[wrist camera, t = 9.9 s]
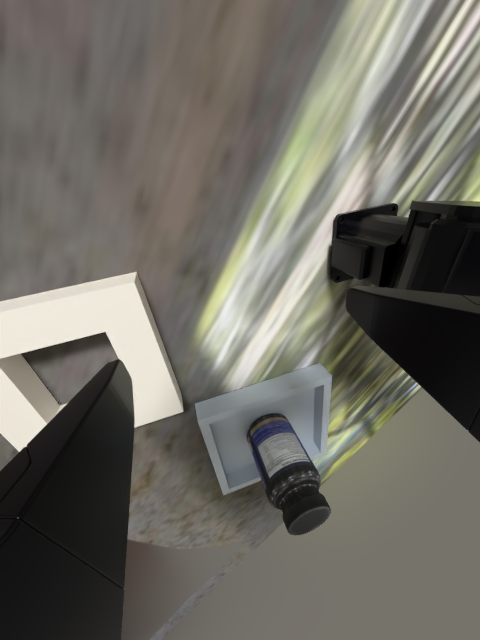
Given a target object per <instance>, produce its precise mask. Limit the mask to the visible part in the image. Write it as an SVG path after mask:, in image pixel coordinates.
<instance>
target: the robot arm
mask: <svg viewBox="0 0 480 640" xmlns="http://www.w3.org/2000/svg"><path fill="white" fill-rule="evenodd" d="M391 209H392V210H391ZM410 209H411V211H410V214H409V218H407V217H399V216H397V211H398V205H397V204H394V203H390V204H385V205H380V206H376V207H371V208H366V209H361V210H356V211H351V212H347V213H342V214H338V215H337V216H336V217H335V220H334V236H333V245H332V264H331V265H332V272H331V280H332V281H334V282H336V283H337V282H341V281H345V280H349V279H353V278H357V279H359V280H364V281H366V282H368V283H370V284H372V285H375V286H377V287H372V286H362V285H356V286H353V287H349V288H348V289H347V291H346V310H347V312H348V313H349V314H350V315H351V316H352V318H353V319H354V320H355V321H356V322H357V323H358V325H359V326H360V327H361V328H362V329H363V330H364V332H365V333H366V334H367V335H368V336H369V337H370V338H371V339H372V340H373V341H374V342H375V343H376V344H377V345H378V346H379V347H380V348H381V349H382V350H383V351H384V352H385V353H386V354H388V355H389V356H390V357H391V358H392V359H393V360H394V361H395V362H396V363H397V364H398V365H399V366H400V367H401V368H402V369H403V370H404V371H405V372H406V373H408V374H409V375H410V376H411V377H412V378H413V379H414V380H415V381H416V382H417V383H418V384H419V385H420V386H421V387H422V388H423V389H424V390H425V391H427V392H428V393H429V394H430V395H431V396H432V397H433V398H434V399H435V400H436V401H437V402H438V403H439V404H440V405H441V406H442V407H443V408H444V409H445V410H446V411H448V412H449V413H450V414H451V415H452V416H453V417H454V418H455V419H456V420H457V421H458V422H459V423H460V424H461V425H462V426H463V427H464V428H465V429H466V430H469V433H471V435H473V436H474V437H475V438H476V439H477V440H478V441H479V442H480V202H473V201H412V203H411V206H410ZM340 218H342V220H341V222H340ZM337 276H338V277H337ZM336 277H337V278H336ZM134 423H135V418H134V401H133V386H132V379H131V376H130V374H129V372H128V371H127V369H126V367H125V365H124V363H123V362H122V361H121V360H120V359H118V360H114V361H111V362H108V363H107V364H106V365H105V366H104V367H103V368H102V369H101V370H100V371H99V372H98V373H97V374H96V375H95V376H94V377H93V378H92V379H91V380H90V381H89V382H88V383H87V384H86V385H85V386H84V387H83V388H82V389H81V390H80V391H79V392H78V393H77V394H76V395H75V396H74V397H73V398H72V399H71V400H70V401H69V402H68V403H67V404H66V405H65V406H64V407H63V408H62V409H61V410H60V411H59V412H58V413H57V414H56V415H55V417H54V418H53V419H52V420H51V421H50V422H49V423H48V424H47V425H46V426H45V427H44V428H43V429H42V430H41V431H40V432H39V433H38V434H37V435H36V436H35V437H34V438H33V439H32V440H31V441H30V442H29V443H28V444H27V447H24V448H23V449H22V450H21V451H20V452H19V453H18V454H17V455H16V456H15V457H14V458H13V459H12V460H11V461H10V462H9V463H8V464H7V465H6V466H5V467H4V468H3V469H2V470H1V471H0V640H121V632H122V617H123V601H124V589H123V588H124V583H125V567H126V550H127V535H128V520H129V504H130V488H131V472H132V456H133V440H134Z"/></svg>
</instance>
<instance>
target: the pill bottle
mask: <svg viewBox="0 0 480 640" xmlns="http://www.w3.org/2000/svg"><path fill="white" fill-rule="evenodd" d="M247 442H248V444H249V447H250V450H251V453H252V456H253V458H254V461H255V464H256V467H257V469H258V472H259V475H260V478H261V481H262V483H263V486H264V489H265V492H266V494H267V497H268V500H269V502H270V503H271V505H272V506H274V507H275V508H277V509H280V510H282V511H283V515H282V516H283V520H284V523H285V525H286V528H287V530H288V532H289V534H291V535H301V534H305V533H308V532H310V531H312V530H314V529H315V528H317V527H319V526H320V525H321V524H323V523H324V522H325V521H326V519H327V518H328V517H329V515H330V513H331V509H330V507H329V505H328V503H327V501H326V499H325V497H324V496H323V495H322V494H320V493H319V491H318V490H319V487H320V476H319V473H318V471H317V469H316V468H315V466H314V464H313V462H312V461H311V459H310V457H309V455H308V454H307V452H306V450H305V448H304V447H303V445H302V443H301V441H300V440H299V438H298V436H297V434H296V433H295V431H294V429H293V427H292V426H291V424H290V422H289V421H288V419H287V418H286V417H285V416H284V415H282V414H278V413H276V414H274V413H272V414H267V415H264V416H262V417H260V418H258V419H257V420H256V421H254V422H253V424H252V425H251V426H250V428H249V430H248V432H247Z"/></svg>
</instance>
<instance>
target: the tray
mask: <svg viewBox="0 0 480 640" xmlns="http://www.w3.org/2000/svg"><path fill="white" fill-rule="evenodd" d="M331 384H332V375H331V374H330V373H329V372H328V371H327V370H326V369H325V367H324V366H323V365H322V364H321V363H318V364H315V365H312V366H309V367H306V368H303V369H300V370H296V371H293V372H290V373H287V374H284V375H281V376H278V377H275V378H272V379H269V380H266V381H263V382H259V383H256V384H253V385H250V386H247V387H244V388H241V389H238V390H235V391H232V392H229V393H226V394H222V395H219V396H216V397H213V398H210V399H207V400H204V401H201V402H198V403H195V408H196V414H197V420H198V423H199V426H200V429H201V432H202V435H203V438H204V441H205V443H206V446H207V449H208V452H209V455H210V458H211V461H212V464H213V467H214V469H215V472H216V475H217V478H218V481H219V484H220V487H221V490H222V493H223V495H226V494H229V493H231V492H234V491H236V490H239V489H241V488H244V487H246V486H249V485H251V484H254V483H256V482H259V481H261V478H260V475H259V472H258V469H257V467H256V464H255V461H254V458H253V456H252V453H251V450H250V447H249V444H248V442H247V432H248V430H249V428H250V426H251V425H252V424H253V422H254V421H256V420H257V419H258V418H260V417H262V416H264V415H267V414H272V413H274V414H276V413H278V414H282V415H284V416H285V417H286V418H287V419H288V421H289V422H290V424H291V426H292V427H293V429H294V431H295V433H296V434H297V436H298V438H299V440H300V441H301V443H302V445H303V447H304V448H305V450H306V452H307V454H308V455H309V457H310V459H311V460H313V459H316V458H318V457H321V456H323V455H326V452H327V438H328V425H329V411H330V398H331Z"/></svg>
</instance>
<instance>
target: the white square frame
mask: <svg viewBox="0 0 480 640" xmlns="http://www.w3.org/2000/svg"><path fill="white" fill-rule="evenodd" d="M103 332H106V334H107V336H108V338H109V340H110V342H111V344H112V346H113V348H114V350H115V352H116V354H117V356H118V358H119V359H120V360H121V361H122V362H123V363H124V365H125V367H126V369H127V371H128V372H129V374H130V376H131V379H132V386H133V401H134V418H135V423H134V428H135V427H138V426H141V425H144V424H147V423H151V422H154V421H157V420H160V419H163V418H166V417H169V416H172V415H175V414H178V413H181V412H184V411H183V403H182V394H181V391H180V389H179V386H178V383H177V380H176V378H175V375H174V372H173V370H172V367H171V364H170V361H169V359H168V356H167V353H166V350H165V348H164V345H163V342H162V340H161V337H160V334H159V331H158V329H157V326H156V323H155V320H154V318H153V315H152V312H151V310H150V307H149V304H148V301H147V299H146V296H145V293H144V290H143V288H142V285H141V282H140V280H139V277H138V274H137V272H134V273H129V274H124V275H120V276H115V277H111V278H106V279H102V280H97V281H92V282H88V283H83V284H79V285H74V286H69V287H65V288H60V289H56V290H51V291H46V292H42V293H37V294H33V295H28V296H24V297H19V298H14V299H10V300H5V301H1V302H0V433H1V434H2V435H3V436H4V437H5V438H6V439H7V440H8V441H9V442H10V443H11V444H12V445H13V446H14V447H15V448H16V449H17V450H18V451H19V452H20V451H21V450H22V449H23V448H24V447H27V444H28V443H29V442H30V441H31V440H32V439H33V438H34V437H35V436H36V435H37V434H38V433H39V432H40V431H41V430H42V429H43V428H44V427H45V426H46V425H47V424H48V423H49V422H50V421H51V420H52V419H53V418H54V417H55V415H56V414H57V413H58V412H59V411H60V410H61V409H62V408H63V407H64V406H65V405H66V404H67V403H66V404H63V405H59V404H58V403H57V401H56V400H55V399H54V397H53V396H52V395H51V393H50V392H49V391H48V389H47V388H46V387H45V385H44V384H43V383H42V381H41V380H40V379H39V377H38V376H37V375H36V373H35V372H34V371H33V369H32V368H31V367H30V365H29V364H28V363H27V361H26V360H25V359H24V357H23V356H22V355H21V353H24V352H28V351H32V350H36V349H40V348H44V347H48V346H52V345H56V344H60V343H64V342H68V341H71V340H75V339H79V338H83V337H87V336H91V335H95V334H99V333H103Z"/></svg>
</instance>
